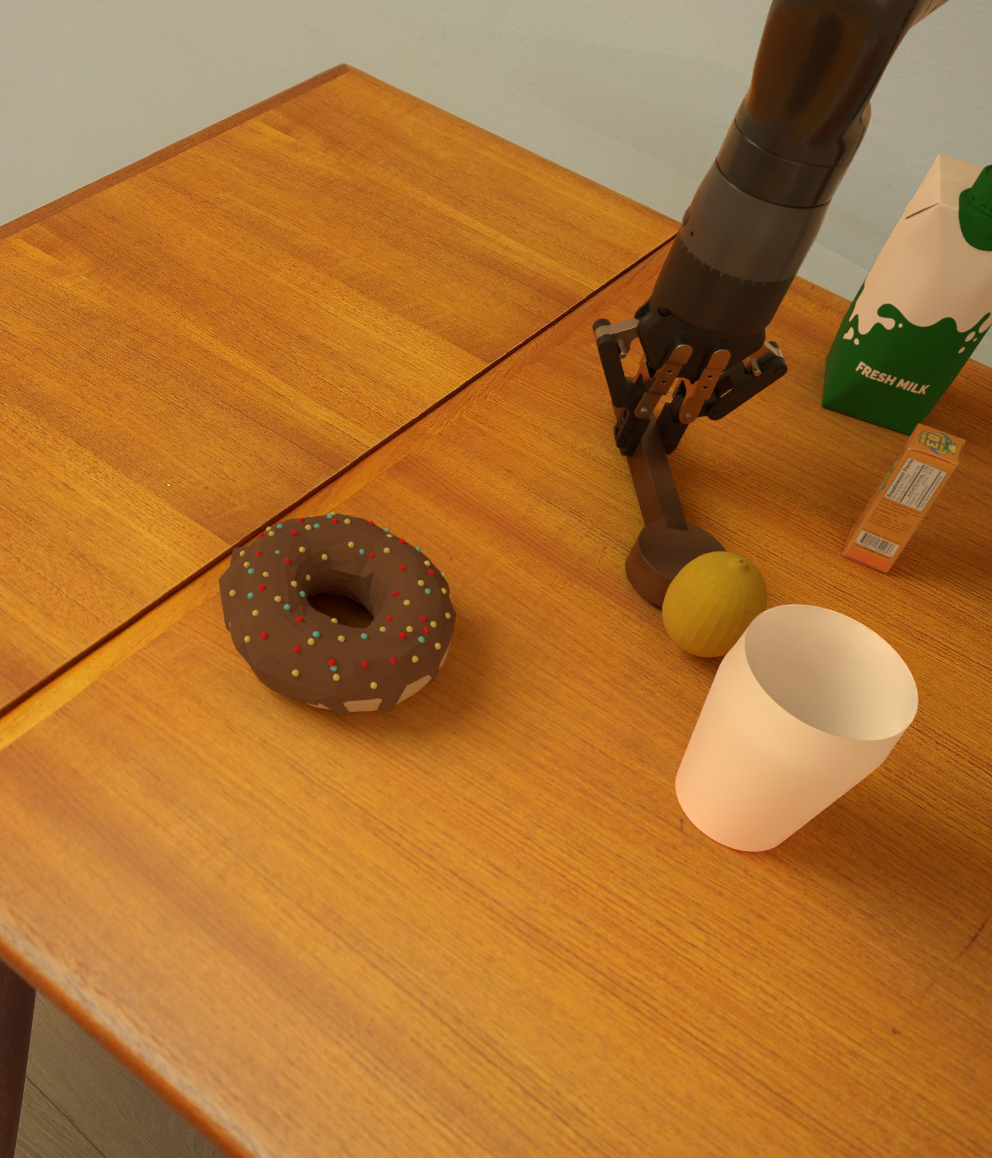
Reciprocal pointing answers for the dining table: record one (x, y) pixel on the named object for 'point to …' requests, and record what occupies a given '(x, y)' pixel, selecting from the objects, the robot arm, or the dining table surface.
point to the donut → (316, 641)
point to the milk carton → (918, 304)
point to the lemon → (713, 603)
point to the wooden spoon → (660, 521)
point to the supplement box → (903, 498)
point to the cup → (792, 725)
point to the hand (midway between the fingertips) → (639, 449)
